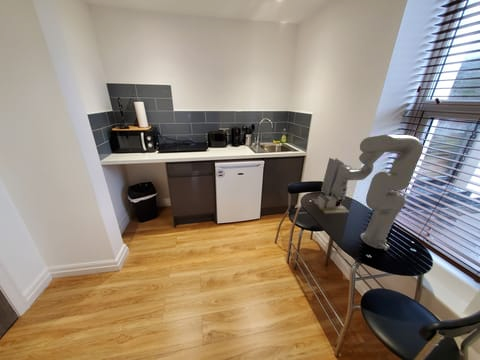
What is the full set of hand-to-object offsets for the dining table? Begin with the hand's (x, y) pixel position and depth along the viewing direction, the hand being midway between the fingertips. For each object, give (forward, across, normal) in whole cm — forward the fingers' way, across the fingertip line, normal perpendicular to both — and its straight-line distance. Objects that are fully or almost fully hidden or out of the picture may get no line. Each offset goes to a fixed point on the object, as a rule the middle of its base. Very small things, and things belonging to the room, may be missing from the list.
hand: (334, 203), depth 141 cm
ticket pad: (+1, 0, +8) cm, 8 cm away
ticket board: (+2, 0, +4) cm, 4 cm away
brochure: (+3, +20, -7) cm, 21 cm away
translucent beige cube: (+1, 0, 0) cm, 1 cm away
